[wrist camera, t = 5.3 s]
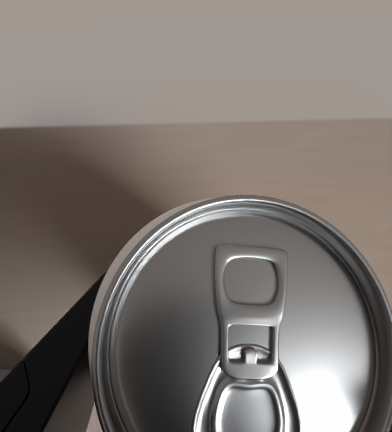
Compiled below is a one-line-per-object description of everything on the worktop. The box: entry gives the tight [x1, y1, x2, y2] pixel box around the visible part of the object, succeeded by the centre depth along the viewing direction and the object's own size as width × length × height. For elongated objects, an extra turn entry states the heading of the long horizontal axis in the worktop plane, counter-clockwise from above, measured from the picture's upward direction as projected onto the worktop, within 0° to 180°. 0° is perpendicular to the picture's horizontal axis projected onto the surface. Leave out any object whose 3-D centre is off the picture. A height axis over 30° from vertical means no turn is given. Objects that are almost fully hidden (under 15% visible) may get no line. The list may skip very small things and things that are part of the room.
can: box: [88, 195, 392, 432], centre depth 11 cm, size 6×6×12 cm
